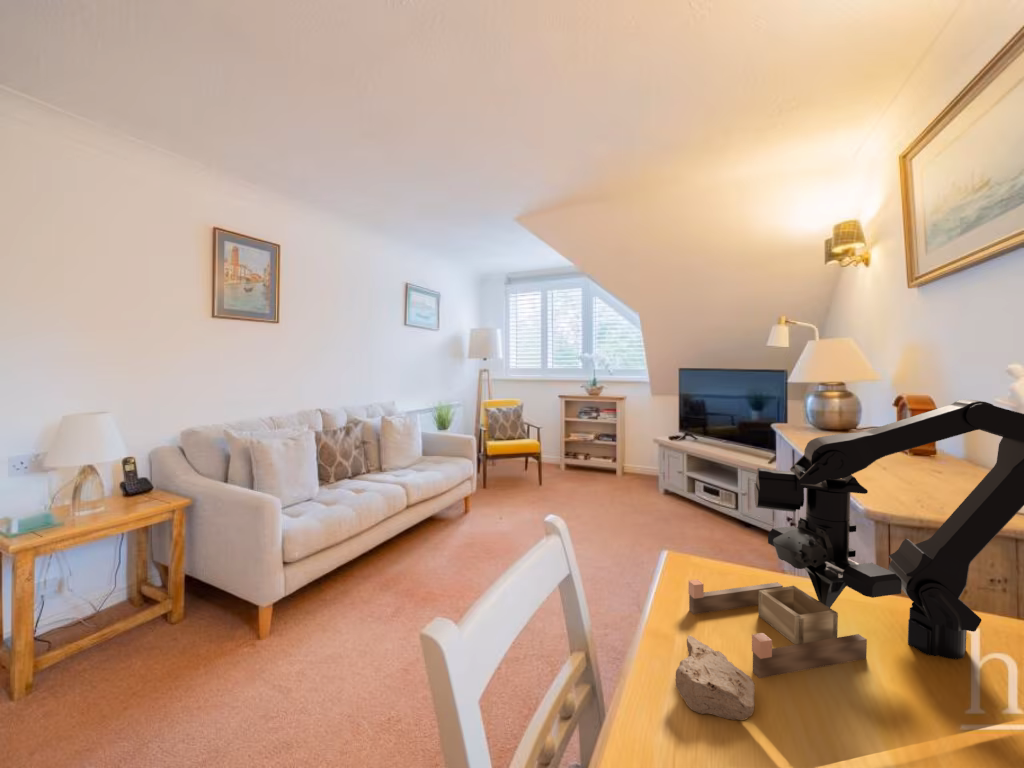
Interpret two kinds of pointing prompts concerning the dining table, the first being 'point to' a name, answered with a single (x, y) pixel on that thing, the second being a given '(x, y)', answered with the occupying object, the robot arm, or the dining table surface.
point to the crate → (797, 615)
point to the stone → (714, 683)
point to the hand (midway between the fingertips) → (825, 607)
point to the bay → (787, 652)
